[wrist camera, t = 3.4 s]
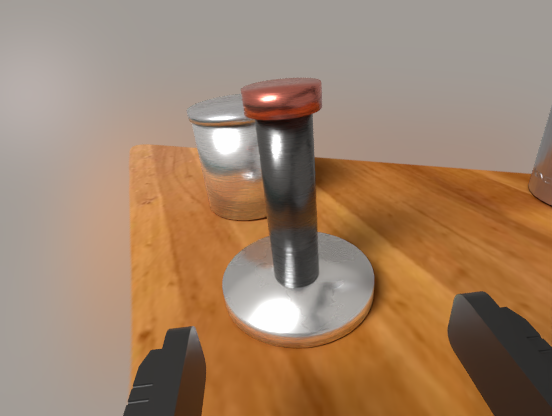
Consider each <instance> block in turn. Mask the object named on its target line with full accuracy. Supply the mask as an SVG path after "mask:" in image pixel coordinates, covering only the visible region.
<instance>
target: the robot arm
mask: <svg viewBox="0 0 552 416" xmlns="http://www.w3.org/2000/svg"><path fill="white" fill-rule="evenodd" d="M528 187H529V190H530V191H531V192H532V194H533V195H535V196H536V197H537V198H539V199H540V200H542V201H544V202H546V203H547V204H549V205H552V107H551V110H550V114H549V117H548V120H547V124H546V127H545V131H544V134H543V137H542V140H541V144H540V147H539V150H538V154H537V157H536V161H535V164H534V168H533V171H532V175H531V178H530V181H529V185H528ZM448 337H449V341H450V344H451V346H452V348H453V350H454V352H455V353H456V355H457V357H458V358H459V360H460V361H461V363H462V365H463V366H464V368H465V369H466V371H467V373H468V374H469V376H470V377H471V379H472V381H473V382H474V384H475V385H476V387H477V389H478V390H479V392H480V393H481V395H482V397H483V398H484V400H485V401H486V403H487V405H488V406H489V408H490V409H491V411H492V413H493V414H494V416H552V347H551V346H550V345H549V344H548V343H547V342H546V341H545V340H544V339H542V338H541V335H540V334H539V333H538V332H537V331H536V330H535V329H534V328H533V327H532V326H531V325H530V324H529V322H528V321H527V320H526V319H524V318H523V317H521V316H520V315H518V314H516V313H515V312H513V311H512V310H510V309H509V308H507V307H502V308H500V307H499V306H498V305H497V304H496V302H495V301H494V300H493V299H492V298H491V297H490V296H489V295H488V294H487V293H486V292H483V291H480V292H472V293H464V294H457V295H456V296H455V298H454V302H453V306H452V311H451V315H450V320H449V325H448ZM205 381H206V363H205V358H204V354H203V351H202V348H201V345H200V341H199V338H198V335H197V332H196V329H195V327H194V326H190V327H182V328H174V329H169V330H168V331H167V333H166V336H165V340H164V344H163V347H162V349H156V350H151V351H150V352H149V354H148V355H147V356H146V358H145V359H144V360H143V362H142V363H141V365H140V366H139V368H138V371H137V374H136V377H135V380H134V384H133V389H132V390H131V393H130V396H129V399H128V405H126V408H125V412H124V415H123V416H201V414H202V406H203V397H204V389H205Z"/></svg>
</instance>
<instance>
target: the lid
mask: <svg viewBox="0 0 552 416" xmlns="http://www.w3.org/2000/svg"><path fill="white" fill-rule="evenodd" d="M321 89H322V88H321V81H320V80H318V79H313V78H285V79H276V80H269V81H262V82H258V83H253V84H250V85H247V86H244V87H243V88H241V95H242V102H243V109H244V115H245V116H246V117H248V118H251V119H255V126H256V133H257V141H258V149H259V157H260V165H261V173H262V181H263V188H264V196H265V204H266V212H267V220H268V228H269V235H270V236H268V237H265V238H263V239H260V240H258V241H256V242H254V243H252V244H250V245H249V246H247V247H245V248H244V249H243V250H242V251H240V252H239V253H238V254H237V255H236V256H235V257H234V258H233V259H232V261H231V262H230V263H229V265H228V267H227V268H226V271H225V273H224V277H223V293H224V298H225V302H226V306H227V310H228V312H229V315H230V316H231V318H232V320H233V321H234V323H235V324H236V325H237V326H238V327H239V328H240V329H241V330H242V331H244V332H245V333H246V334H248V335H249V336H251V337H253V338H254V339H257V340H259V341H261V342H264V343H267V344H271V345H274V346H280V347H287V348H305V347H313V346H319V345H323V344H326V343H329V342H332V341H335V340H337V339H339V338H341V337H343V336H345V335H346V334H348V333H350V332H351V331H352V330H354V329H355V328H356V327H357V326H358V325H359V324H360V323H361V322H362V321H363V320H364V319H365V317H366V315H367V314H368V312H369V310H370V308H371V305H372V301H373V294H374V272H373V268H372V266H371V263H370V262H369V260H368V259H367V257H366V256H365V255H364V254H363V252H361V251H360V250H359V249H358V248H357V247H356V246H354V245H353V244H351V243H349V242H347V241H346V240H344V239H341V238H339V237H336V236H333V235H330V234H325V233H320V232H318V231H317V208H316V184H315V161H314V138H313V118H312V117H313V115H312V114H313V113H315V112H317V111H319V110H320V109H321V108H322V90H321Z"/></svg>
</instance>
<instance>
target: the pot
mask: <svg viewBox="0 0 552 416" xmlns="http://www.w3.org/2000/svg"><path fill="white" fill-rule="evenodd" d="M187 114H188V118H189V121H190V122H192V126H193V130H194V135H195V140H196V144H197V149H198V154H199V158H200V163H201V167H202V172H203V176H204V181H205V185H206V190H207V194H208V199H209V204H210V208H211V210H212V211H213V212H214V213H215V214H217V215H218V216H220V217H223V218H227V219H232V220H253V219H260V218H264V217H267V212H266V204H265V196H264V188H263V181H262V173H261V165H260V157H259V149H258V141H257V133H256V126H255V119H251V118H248V117H246V116H245V115H244V109H243V102H242V95H241V94H236V95H229V96H223V97H218V98H214V99H210V100H206V101H203V102H200V103H197V104H195V105H193V106H191V107H189V108H188V109H187Z"/></svg>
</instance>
